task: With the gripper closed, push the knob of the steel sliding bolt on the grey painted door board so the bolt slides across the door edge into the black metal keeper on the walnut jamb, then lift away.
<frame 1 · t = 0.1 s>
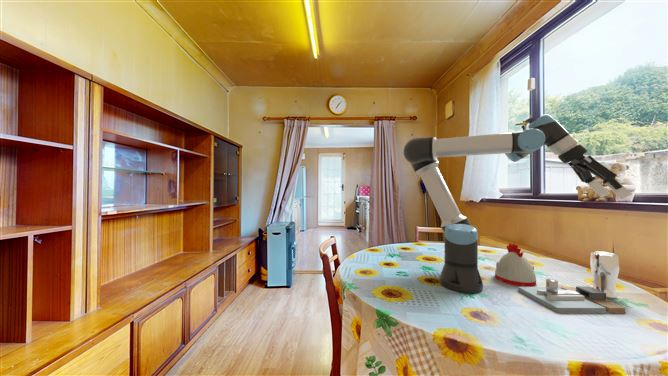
hand: (615, 196, 85), 36 cm above the table, tool tilted 35°, fingers open, 13 cm apart
kitchen timer: (514, 280, 102), on the table
door lock board: (565, 300, 83), on the table
steel bolt: (562, 287, 83), point 4 cm above the table, slide at 0.0 cm
beer glass: (604, 295, 88), on the table
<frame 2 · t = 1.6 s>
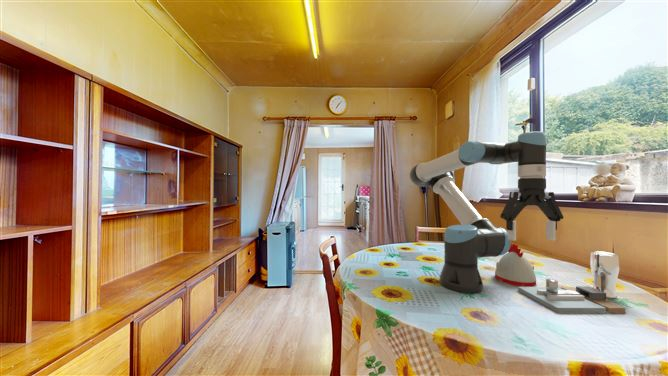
hand: (531, 239, 83), 21 cm above the table, tool pointing down, fingers open, 13 cm apart
nothing on the table moved.
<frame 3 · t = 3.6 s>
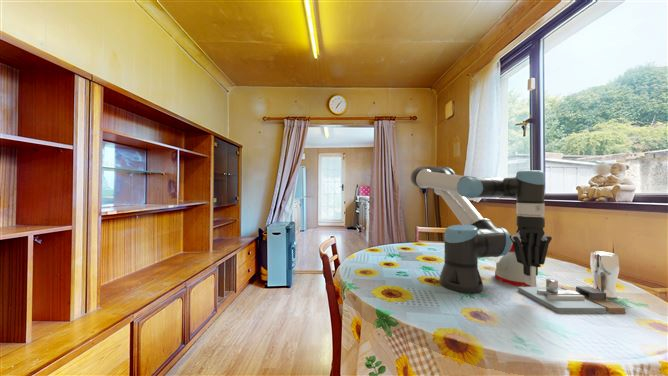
hand: (530, 284, 83), 6 cm above the table, tool pointing down, fingers closed
nothing on the table moved.
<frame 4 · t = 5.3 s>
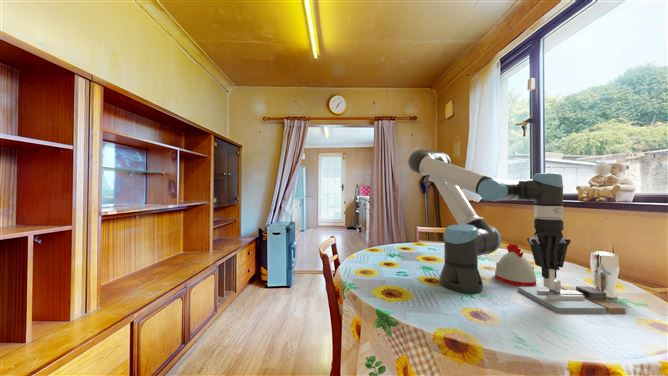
hand: (549, 287, 82), 5 cm above the table, tool pointing down, fingers closed
steel bolt: (564, 287, 83), point 4 cm above the table, slide at 0.9 cm, touching gripper
everything else where it was.
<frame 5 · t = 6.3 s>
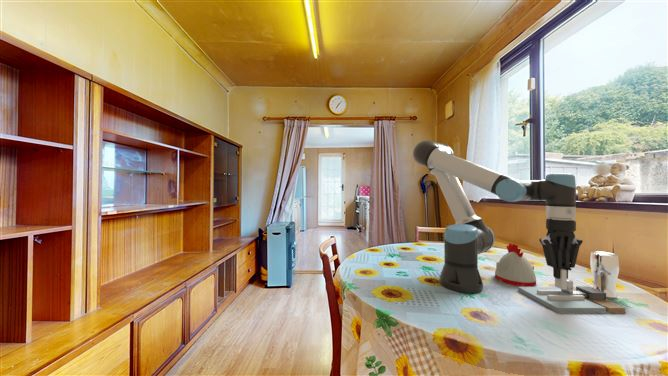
hand: (560, 287, 83), 4 cm above the table, tool pointing down, fingers closed
steel bolt: (577, 288, 83), point 4 cm above the table, slide at 5.1 cm, touching gripper
everything else where it was.
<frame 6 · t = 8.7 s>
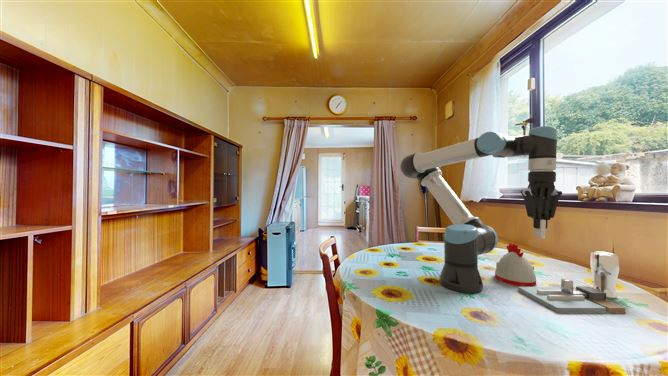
hand: (539, 237, 86), 21 cm above the table, tool pointing down, fingers closed
steel bolt: (577, 288, 83), point 4 cm above the table, slide at 5.2 cm
everything else where it was.
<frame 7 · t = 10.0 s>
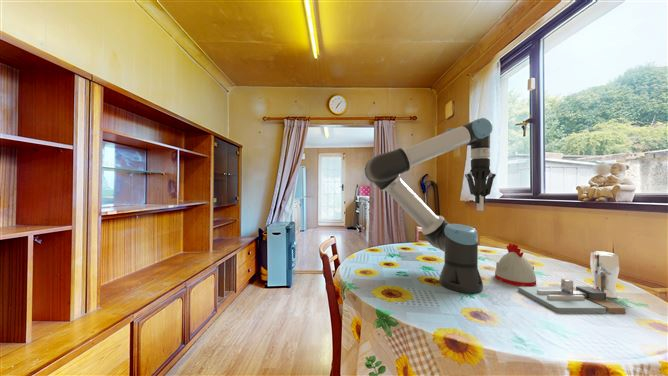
hand: (480, 210, 110), 28 cm above the table, tool pointing down, fingers closed
nothing on the table moved.
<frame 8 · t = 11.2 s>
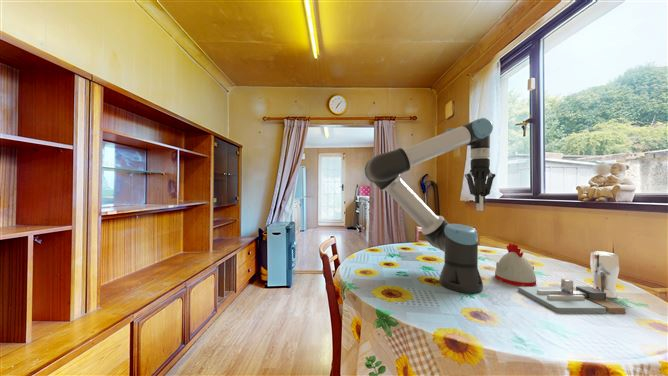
hand: (479, 210, 110), 28 cm above the table, tool pointing down, fingers closed
nothing on the table moved.
at the end: steel bolt slide at 5.2 cm; beer glass moved 0.2 cm from its start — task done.
